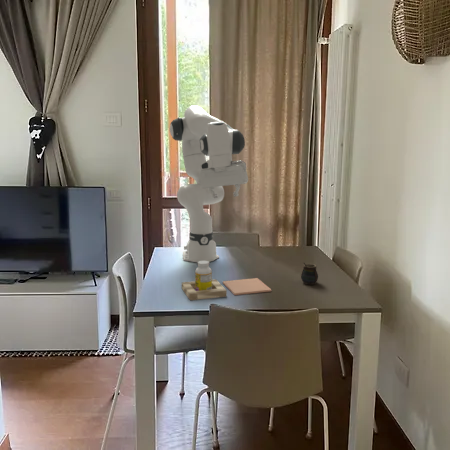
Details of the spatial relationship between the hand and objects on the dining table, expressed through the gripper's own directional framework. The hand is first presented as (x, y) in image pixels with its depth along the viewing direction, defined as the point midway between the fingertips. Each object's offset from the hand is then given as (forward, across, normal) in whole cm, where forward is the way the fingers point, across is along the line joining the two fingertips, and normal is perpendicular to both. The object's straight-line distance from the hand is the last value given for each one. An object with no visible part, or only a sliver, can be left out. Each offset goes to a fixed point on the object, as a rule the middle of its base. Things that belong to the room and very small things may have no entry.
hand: (225, 197), depth 189 cm
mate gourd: (+42, -23, -24) cm, 54 cm away
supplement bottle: (+38, +12, +6) cm, 40 cm away
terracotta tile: (+39, -1, -8) cm, 40 cm away
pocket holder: (+38, +12, +6) cm, 40 cm away
